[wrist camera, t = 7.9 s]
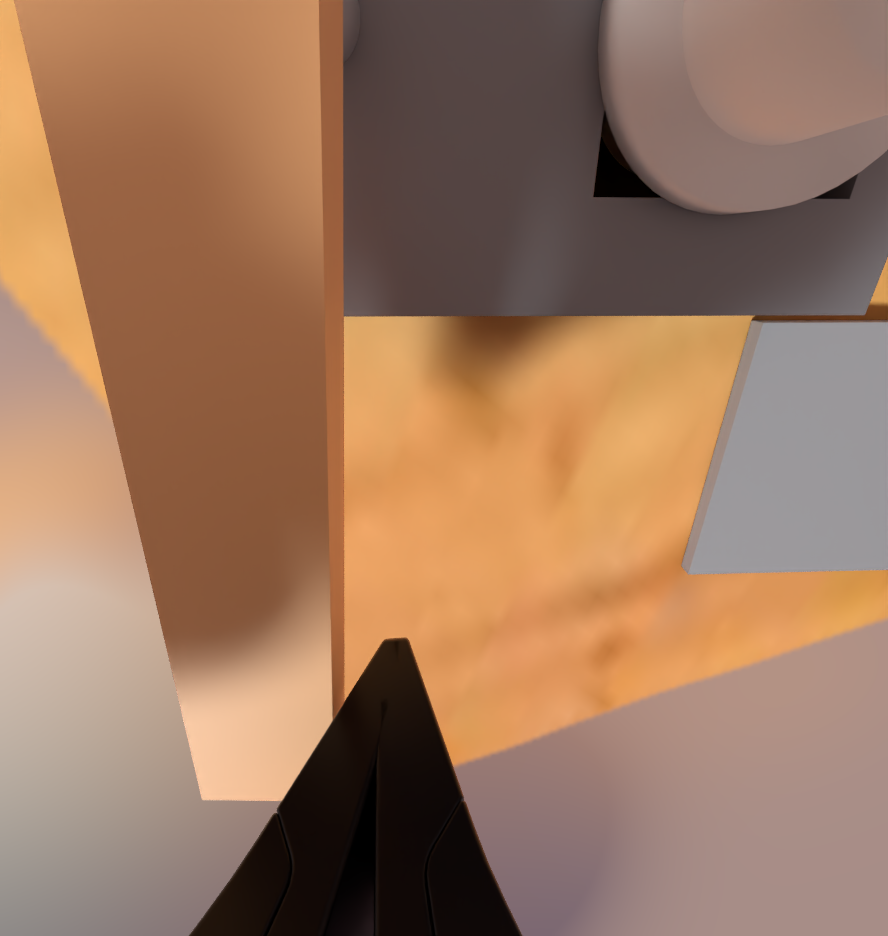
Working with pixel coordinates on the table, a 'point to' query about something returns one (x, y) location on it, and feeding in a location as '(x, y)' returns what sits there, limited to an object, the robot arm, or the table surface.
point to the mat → (800, 454)
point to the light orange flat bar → (217, 340)
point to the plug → (744, 97)
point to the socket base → (551, 186)
